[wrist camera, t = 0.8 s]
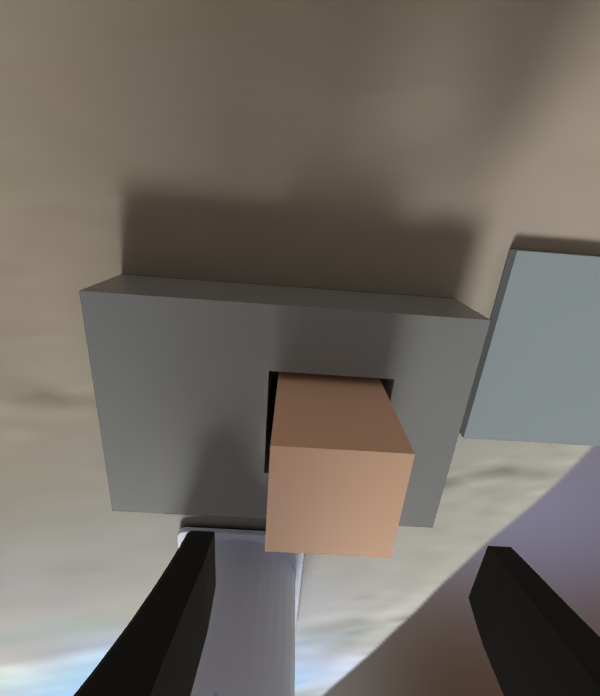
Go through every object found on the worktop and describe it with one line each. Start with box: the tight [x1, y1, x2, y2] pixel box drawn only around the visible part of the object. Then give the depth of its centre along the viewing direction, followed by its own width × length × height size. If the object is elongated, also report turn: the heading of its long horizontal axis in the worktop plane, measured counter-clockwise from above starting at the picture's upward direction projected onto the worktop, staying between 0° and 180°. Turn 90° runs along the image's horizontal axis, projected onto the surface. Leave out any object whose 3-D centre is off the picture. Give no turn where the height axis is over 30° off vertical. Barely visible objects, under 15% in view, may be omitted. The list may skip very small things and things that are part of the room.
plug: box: [265, 372, 415, 558], centre depth 16 cm, size 4×4×8 cm
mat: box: [459, 249, 600, 446], centre depth 18 cm, size 10×8×1 cm
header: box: [79, 275, 490, 528], centre depth 18 cm, size 11×16×4 cm
